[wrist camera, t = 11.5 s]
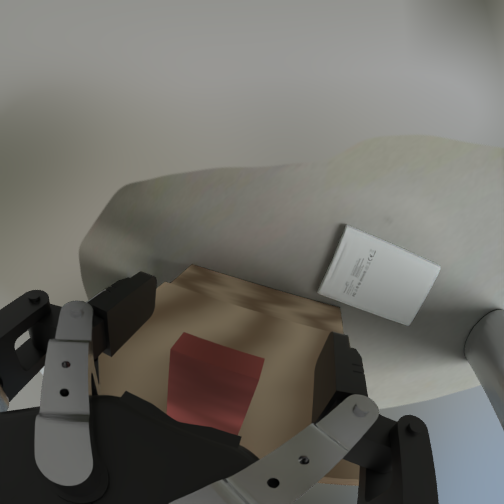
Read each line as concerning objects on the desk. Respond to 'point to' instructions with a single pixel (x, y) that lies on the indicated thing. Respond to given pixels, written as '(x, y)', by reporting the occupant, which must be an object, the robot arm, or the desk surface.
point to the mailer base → (261, 298)
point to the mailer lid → (224, 371)
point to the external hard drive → (378, 276)
